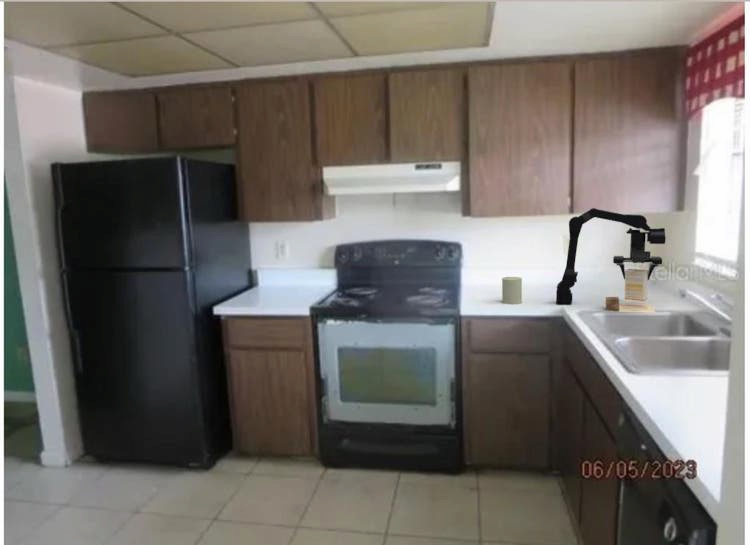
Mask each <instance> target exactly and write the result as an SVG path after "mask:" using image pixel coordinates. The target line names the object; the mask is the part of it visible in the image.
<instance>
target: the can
mask: <svg viewBox="0 0 750 545" xmlns="http://www.w3.org/2000/svg"><path fill="white" fill-rule="evenodd" d="M501 280H502V281H501V284H502V286H501V288H502V289H501V290H502V298H501V300H502V301H501V303H502V304H505V305H520V304H522V303H523V297H522V296H523V288H522V286H523V278H522V277H519V276H506V277H504V276H503V277H502V278H501Z"/></svg>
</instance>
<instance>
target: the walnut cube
mask: <svg viewBox="0 0 750 545" xmlns="http://www.w3.org/2000/svg"><path fill="white" fill-rule="evenodd" d="M619 304H620V297H619V296H605V309H606V312H607V311H608V312H609V311H610V312H611V311H612V312H615V311H617V312H618V311H619Z"/></svg>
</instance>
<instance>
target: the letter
mask: <svg viewBox="0 0 750 545" xmlns="http://www.w3.org/2000/svg"><path fill="white" fill-rule="evenodd" d="M649 309H652V311H651V310H649ZM653 309H654V308H653V306H652V305H651V304H638V303H636V304H635V303H634V304H633V303H619V311H617V312H618V313H639V314H640V313H645V314H656V311H655V310H653Z"/></svg>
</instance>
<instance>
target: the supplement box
mask: <svg viewBox="0 0 750 545" xmlns="http://www.w3.org/2000/svg"><path fill="white" fill-rule="evenodd" d="M648 270H649V269H637V268H636V269H634V268H627V269H625V279H624V300H629V301H637V302H638V301H639V302H645V301H647V300H648V289H649V287H648V285H649V282H648V281H649V280H648Z"/></svg>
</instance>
